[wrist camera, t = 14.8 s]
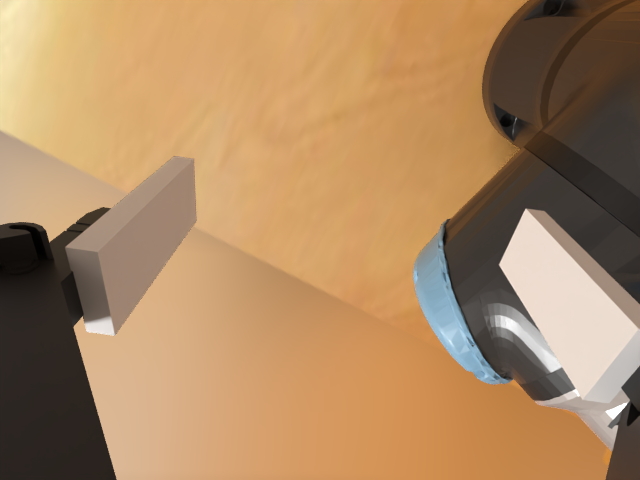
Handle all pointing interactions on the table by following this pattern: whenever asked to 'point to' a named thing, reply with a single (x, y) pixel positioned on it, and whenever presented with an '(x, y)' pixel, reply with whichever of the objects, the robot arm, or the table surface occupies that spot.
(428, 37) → the table surface
